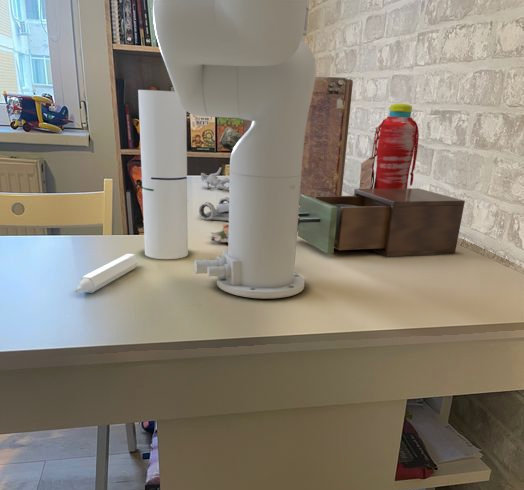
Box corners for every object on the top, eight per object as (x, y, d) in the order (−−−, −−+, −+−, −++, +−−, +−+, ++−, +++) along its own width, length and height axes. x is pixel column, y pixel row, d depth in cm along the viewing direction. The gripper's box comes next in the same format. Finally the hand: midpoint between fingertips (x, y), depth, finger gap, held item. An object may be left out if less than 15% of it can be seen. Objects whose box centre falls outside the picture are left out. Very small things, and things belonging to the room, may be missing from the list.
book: (341, 203, 149) (354, 79, 137) (335, 209, 141) (348, 77, 129) (251, 195, 156) (256, 75, 144) (241, 200, 148) (244, 74, 136)
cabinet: (386, 256, 99) (394, 201, 95) (348, 238, 112) (354, 188, 108) (455, 253, 104) (465, 200, 100) (411, 235, 116) (418, 188, 112)
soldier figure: (222, 195, 159) (190, 177, 163) (226, 205, 164) (195, 187, 168) (238, 175, 161) (206, 158, 164) (241, 185, 165) (210, 168, 169)
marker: (75, 304, 72) (130, 270, 86) (87, 298, 71) (140, 265, 86) (64, 286, 71) (121, 255, 86) (76, 279, 71) (132, 249, 85)
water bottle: (347, 226, 123) (360, 101, 112) (356, 220, 129) (369, 102, 119) (402, 232, 118) (421, 104, 108) (409, 226, 125) (427, 104, 115)
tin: (334, 241, 99) (337, 210, 97) (321, 234, 104) (323, 204, 102) (363, 240, 101) (366, 209, 99) (348, 233, 106) (351, 204, 104)
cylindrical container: (179, 260, 91) (176, 91, 80) (138, 256, 92) (130, 89, 81) (193, 250, 97) (192, 92, 87) (154, 246, 98) (149, 90, 88)
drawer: (299, 254, 94) (302, 207, 91) (272, 236, 105) (274, 194, 102) (395, 250, 100) (401, 206, 97) (360, 233, 111) (364, 193, 108)
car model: (219, 211, 132) (219, 189, 130) (316, 224, 123) (318, 201, 121) (194, 218, 122) (194, 195, 120) (297, 233, 113) (299, 208, 111)
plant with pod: (266, 248, 101) (272, 129, 93) (205, 243, 102) (205, 126, 94) (271, 238, 108) (277, 127, 100) (214, 234, 109) (215, 124, 101)
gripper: (243, 27, 91) (240, 138, 98) (278, 13, 76) (272, 146, 83) (286, 31, 93) (280, 140, 100) (328, 18, 79) (318, 147, 85)
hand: (276, 142), depth 92 cm, fingers open, 9 cm apart
